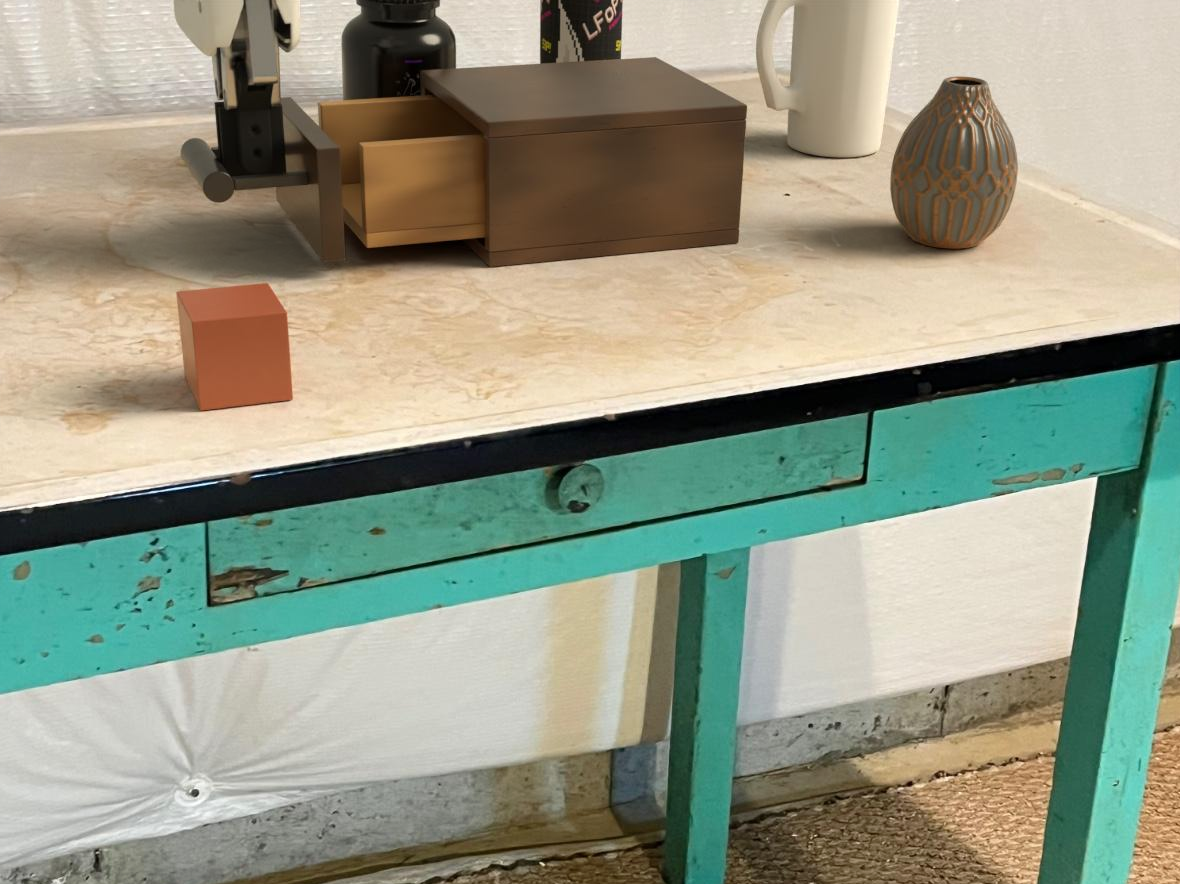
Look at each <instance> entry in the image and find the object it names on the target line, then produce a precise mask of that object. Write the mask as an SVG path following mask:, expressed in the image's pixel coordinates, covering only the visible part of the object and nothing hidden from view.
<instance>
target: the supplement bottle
mask: <svg viewBox="0 0 1180 884" xmlns="http://www.w3.org/2000/svg"><path fill="white" fill-rule="evenodd" d="M355 4H356V5H357V6H358V7H360V13H359V14H357V15H356V16H355V17H353V18H352V19H351V20H349V21H348V22H347V23H346V25H345V27H344V28H343V31H342V33H341V76H342V77H341V79H342V81H341V82H342V100H358V99H374V98H390V97H407V96H421V83H420V71H421V70H437V69H455V68H457V39H456V35H455V32H454V30H453V29H452V27H451V26H450V25H449V24H448V23H447V22H446V21H445V20H444V19H442V18H440V17H439V16H438V15H437V8H439V7H441V0H355Z"/></svg>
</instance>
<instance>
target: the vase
mask: <svg viewBox="0 0 1180 884" xmlns="http://www.w3.org/2000/svg"><path fill="white" fill-rule="evenodd" d="M893 154H894V155H893V159H892V163H891V169H890V182H889V183H890V184H889V185H890V187H889V190H890V199H891V204H892V208H893V211H894V215H895V217H896V219H897V221H898V223H899V225H900V227H901V228H902V229H903V230H904V232H906V234H907V235H908V236H909V237H910V238H911V239H912V240H913V241H915V242H917V243H918V244H921V245H924V246H929V247H933V248H939V249H952V250H953V249H954V250H958V249H968V248H973V247H976V246H978V245H981V243H983V242H984V241H985V240H987V239H988V238H990V237H991V235H993V234H994V233H995V232H996V231H997V229H998V228H1000V226H1001V225H1002V223H1003V222H1004V220H1005V218H1006V217H1007V215H1008V212H1009V210H1010V208H1011V205H1012V203H1013V200H1014V196H1015V192H1016V188H1017V182H1018V173H1019V172H1018V171H1019V170H1018V169H1019V167H1018V165H1019V163H1018V153H1017V148H1016V143H1015V140H1014V136H1013V134H1012V132H1011V130H1010V128H1009V125H1008V124H1007V122H1006V120H1005V119H1004V116H1002V114H1001V112H1000V110H999V109H998V107H997V105H996V104H995V101H994V99H993V97H992V93H991V90H990V86H989V83H988V82H987V81H986V80H984V79H982V78H980V77H979V78H978V77H972V76H962V75H961V76H950V77H946V78H944V79H943V80H942V82H941V84H940V85H939V87H938V89H937V91H936V93H935V94H934V95H933V96H932V98H931V99H930V100H929V101H928V103H927V104H926V105H924V107H923V108H921V110H920V111H919V112H918V114H917V115H916V116H915V117H914V118H913V119H912V120H911V121H910V122H909V123H908V125H907V126H906V127H905V129H904V131H903V133H902V135H901V137H900V139H899V141H898V144H897V146H896V149H895V151H894V153H893Z"/></svg>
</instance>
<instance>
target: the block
mask: <svg viewBox="0 0 1180 884" xmlns="http://www.w3.org/2000/svg"><path fill="white" fill-rule="evenodd" d="M175 295H176V302H177V313H178V314H177V315H178V323H179V332H180V334H179V335H180V345H181V353H182V362H183V363H182V364H183V372H184V373H183V374H184V378H185V381H186V382H187V385H188V387H189V389H190V391H191V394H192V396H193V398H194V399H195V402H196V405H197V407H198V409H199V411H209V410H217V409H225V408H226V409H227V408H235V407H242V406H243V407H245V406H252V405H257V404H258V405H259V404H268V403H275V402H276V403H277V402H285V401H292V400H293V399H294V393H293V379H292V365H291V362H292V361H291V349H290V335H289V334H290V333H289V319H288V311H287V310H286V309H285V307H284V306H283V304H282V302H281V301H280V300H279V298H278V297H277V295H276V293H275V292H274V290H273V289H272V287H271V285H270V284H269V283H268V282H264V283H262V282H261V283H253V284H241V285H231V286H222V287H221V286H219V287H210V288H200V289H199V288H198V289H189V290H179V291H176V294H175Z"/></svg>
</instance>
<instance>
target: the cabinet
mask: <svg viewBox="0 0 1180 884" xmlns="http://www.w3.org/2000/svg"><path fill="white" fill-rule="evenodd" d="M420 83H421V96H423V95H435V96H436V97H438V98H439V99H440V100H442V101H443V102H444V103H445V104H447V105H448V106H449V107H450V108H452V109H453V110H454V111H456V112H457V113H458V114H459V115H461V116H462V117H463V118H465V119H466V120H467V121H468V122H470V123H471V124H472V125H473V126H475V127H476V128H477V129H479V130H480V131H481V132H482V133H484V134H485V135H484V175H485V237H483V238H472V239H461V241H463V242H464V243H465V244H466V245H467V246H468V247H469V248H470V249H471V250H472V251H473V252H474V253H475V254H476V255H477V256H478V257H479V258H480V260H481V261H483V262H484V263H485V264H486V265H487V266H488V267H489V268H492V267H503V266H513V265H523V264H524V265H525V264H534V263H544V262H545V263H546V262H555V261H565V260H574V259H584V258H585V259H586V258H595V257H596V258H597V257H606V256H616V255H625V254H627V255H628V254H637V253H647V252H648V253H649V252H656V251H657V252H659V251H666V250H677V249H678V250H679V249H689V248H699V247H709V246H710V247H711V246H720V245H729V244H738V243H739V239H740V224H741V223H740V221H741V207H742V195H743V194H742V193H743V177H744V162H745V147H746V145H745V144H746V134H747V133H746V132H747V117H748V115H747V114H748V104H746V103H744V102H742V101H740V100H738V99H736V98H735V97H733V96H731V95H729V94H727V93H725V92H723V91H721V90H719V89H717V88H716V87H714V86H712V85H709V83H708V84H707V83H706V82H704V81H702V80H701V79H698V78H696V77H695V76H692V75H691V74H690V73H687V72H685V71H683V70H682V69H679V68H678V67H676V66H673V65H672V64H670V63H668V62H667V61H664V60H662V59H661V58H658V57H656V56H650V57H634V58H621V59H614V60H596V61H578V62H561V63H543V64H540V63H530V64H529V63H528V64H510V65H493V66H491V65H490V66H475V67H474V66H473V67H456V68H455V69H437V70H421V71H420Z"/></svg>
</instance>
